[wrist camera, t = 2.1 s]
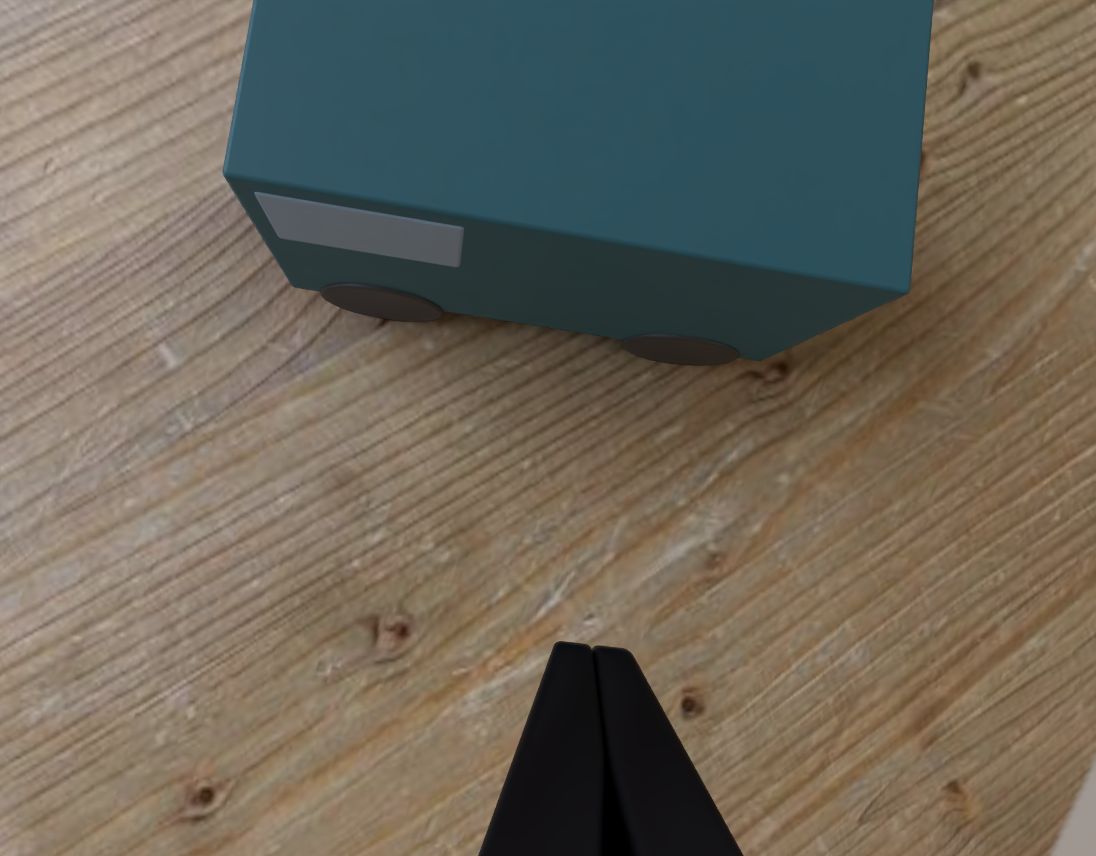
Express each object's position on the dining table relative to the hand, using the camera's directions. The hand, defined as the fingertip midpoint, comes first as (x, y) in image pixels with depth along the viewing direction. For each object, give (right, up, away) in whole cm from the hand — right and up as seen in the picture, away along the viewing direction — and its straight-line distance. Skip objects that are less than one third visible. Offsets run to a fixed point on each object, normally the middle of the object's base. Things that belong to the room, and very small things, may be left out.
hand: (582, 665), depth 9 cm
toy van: (-1, +8, +14) cm, 16 cm away
